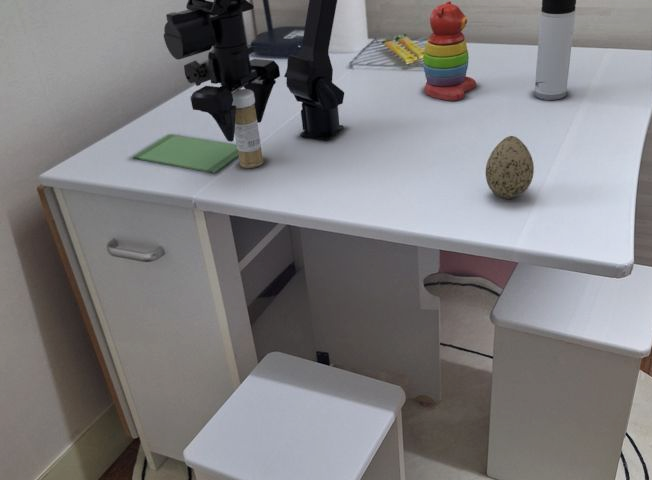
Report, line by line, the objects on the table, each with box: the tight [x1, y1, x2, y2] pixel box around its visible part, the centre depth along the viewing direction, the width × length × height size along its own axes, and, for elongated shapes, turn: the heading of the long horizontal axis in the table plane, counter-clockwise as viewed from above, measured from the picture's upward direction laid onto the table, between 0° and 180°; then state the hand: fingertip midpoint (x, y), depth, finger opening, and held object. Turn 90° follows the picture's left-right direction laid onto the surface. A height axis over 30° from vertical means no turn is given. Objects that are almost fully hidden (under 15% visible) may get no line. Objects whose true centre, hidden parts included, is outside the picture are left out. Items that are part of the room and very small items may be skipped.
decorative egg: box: [485, 135, 535, 200], centre depth 106 cm, size 7×7×10 cm
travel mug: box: [533, 0, 577, 101], centre depth 135 cm, size 6×7×20 cm
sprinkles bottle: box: [232, 88, 265, 169], centre depth 123 cm, size 5×5×13 cm
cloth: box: [132, 134, 239, 174], centre depth 133 cm, size 20×11×1 cm, turn 60°
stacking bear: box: [422, 0, 477, 102], centre depth 143 cm, size 11×10×18 cm
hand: (244, 131), depth 124 cm, fingers open, 8 cm apart
